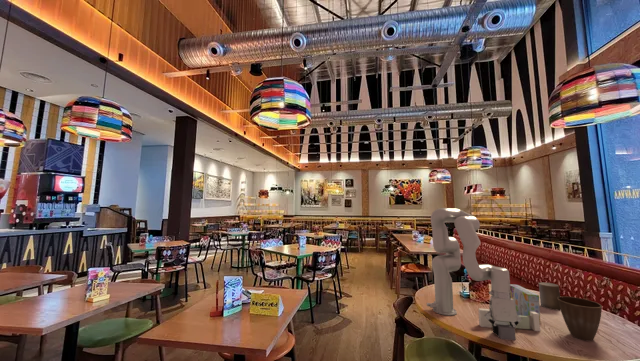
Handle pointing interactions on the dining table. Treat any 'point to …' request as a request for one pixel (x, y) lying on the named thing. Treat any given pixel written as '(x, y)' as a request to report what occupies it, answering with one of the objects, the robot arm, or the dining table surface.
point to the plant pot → (580, 316)
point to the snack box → (524, 300)
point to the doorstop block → (506, 331)
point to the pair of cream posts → (485, 323)
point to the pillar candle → (549, 295)
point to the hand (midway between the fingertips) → (503, 334)
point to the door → (523, 322)
